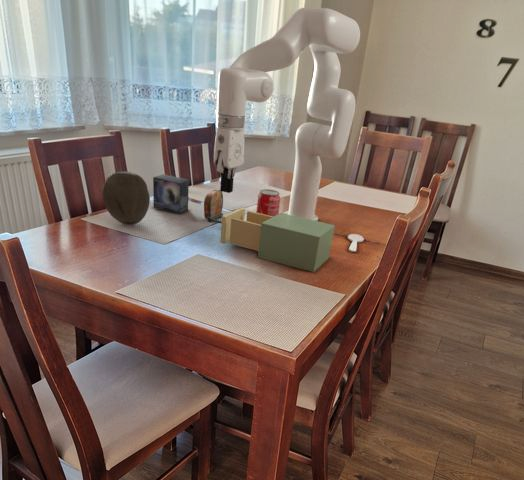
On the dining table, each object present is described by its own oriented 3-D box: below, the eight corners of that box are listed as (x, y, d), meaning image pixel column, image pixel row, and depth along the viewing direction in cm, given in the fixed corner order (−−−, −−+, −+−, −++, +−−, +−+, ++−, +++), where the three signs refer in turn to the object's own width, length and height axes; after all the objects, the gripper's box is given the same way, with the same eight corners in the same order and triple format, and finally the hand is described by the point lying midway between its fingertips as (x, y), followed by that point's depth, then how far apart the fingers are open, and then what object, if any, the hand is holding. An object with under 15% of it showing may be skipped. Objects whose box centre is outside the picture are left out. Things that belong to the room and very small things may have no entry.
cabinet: (257, 257, 134) (261, 222, 129) (276, 244, 146) (280, 212, 140) (313, 272, 129) (319, 237, 124) (328, 258, 140) (335, 225, 135)
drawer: (201, 238, 140) (202, 211, 136) (222, 228, 150) (224, 203, 146) (268, 256, 133) (272, 228, 129) (285, 244, 144) (289, 218, 140)
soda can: (278, 232, 156) (283, 191, 150) (271, 238, 151) (277, 196, 144) (258, 227, 158) (262, 187, 151) (250, 233, 152) (254, 191, 145)
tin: (210, 223, 157) (212, 197, 152) (201, 221, 157) (202, 195, 153) (223, 212, 169) (224, 187, 165) (214, 210, 170) (216, 186, 165)
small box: (152, 208, 164) (151, 176, 159) (162, 204, 169) (162, 173, 164) (179, 214, 161) (179, 182, 156) (188, 210, 166) (189, 179, 161)
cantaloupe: (160, 225, 149) (160, 175, 141) (120, 232, 139) (118, 179, 132) (133, 213, 156) (132, 165, 149) (94, 219, 147) (90, 168, 139)
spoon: (343, 250, 148) (343, 248, 147) (348, 234, 163) (349, 232, 163) (360, 253, 147) (361, 251, 147) (364, 236, 162) (364, 235, 162)
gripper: (229, 126, 121) (225, 199, 131) (254, 122, 133) (249, 189, 143) (204, 121, 124) (201, 193, 133) (231, 118, 136) (227, 184, 145)
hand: (226, 191), depth 138 cm, fingers closed
